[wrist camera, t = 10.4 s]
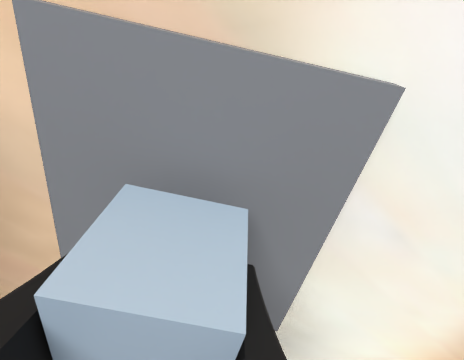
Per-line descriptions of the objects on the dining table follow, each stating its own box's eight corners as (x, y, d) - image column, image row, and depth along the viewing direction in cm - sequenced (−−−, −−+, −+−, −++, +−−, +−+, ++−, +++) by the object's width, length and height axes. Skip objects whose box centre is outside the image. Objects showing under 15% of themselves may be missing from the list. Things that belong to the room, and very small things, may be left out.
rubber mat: (76, 279, 18) (67, 292, 17) (33, -2, 10) (10, -6, 9) (276, 316, 18) (277, 330, 17) (392, 83, 10) (405, 87, 9)
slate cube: (126, 268, 13) (62, 389, 8) (125, 183, 10) (33, 295, 6) (225, 287, 13) (211, 414, 9) (248, 209, 10) (245, 334, 6)
